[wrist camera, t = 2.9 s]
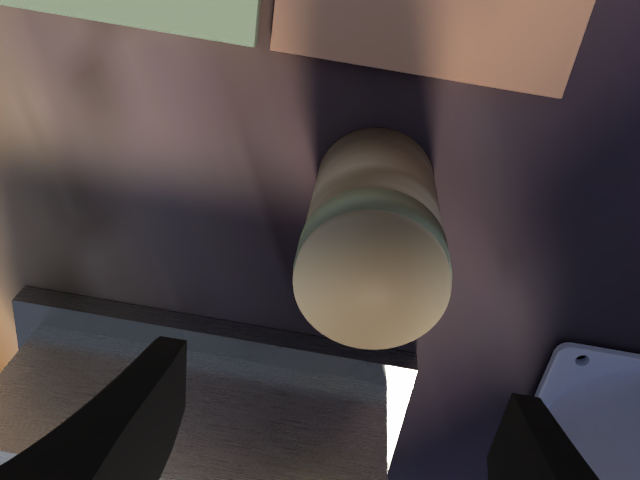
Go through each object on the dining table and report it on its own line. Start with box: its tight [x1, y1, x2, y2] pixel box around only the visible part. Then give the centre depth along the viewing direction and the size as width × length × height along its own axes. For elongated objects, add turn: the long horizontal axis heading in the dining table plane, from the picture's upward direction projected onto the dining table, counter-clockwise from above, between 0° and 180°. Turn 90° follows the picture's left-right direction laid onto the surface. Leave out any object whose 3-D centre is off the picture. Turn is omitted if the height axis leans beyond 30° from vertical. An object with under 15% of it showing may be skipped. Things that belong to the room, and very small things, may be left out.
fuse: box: [293, 127, 452, 350], centre depth 18 cm, size 4×4×6 cm
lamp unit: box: [0, 286, 418, 480], centre depth 23 cm, size 16×7×7 cm, turn 82°
